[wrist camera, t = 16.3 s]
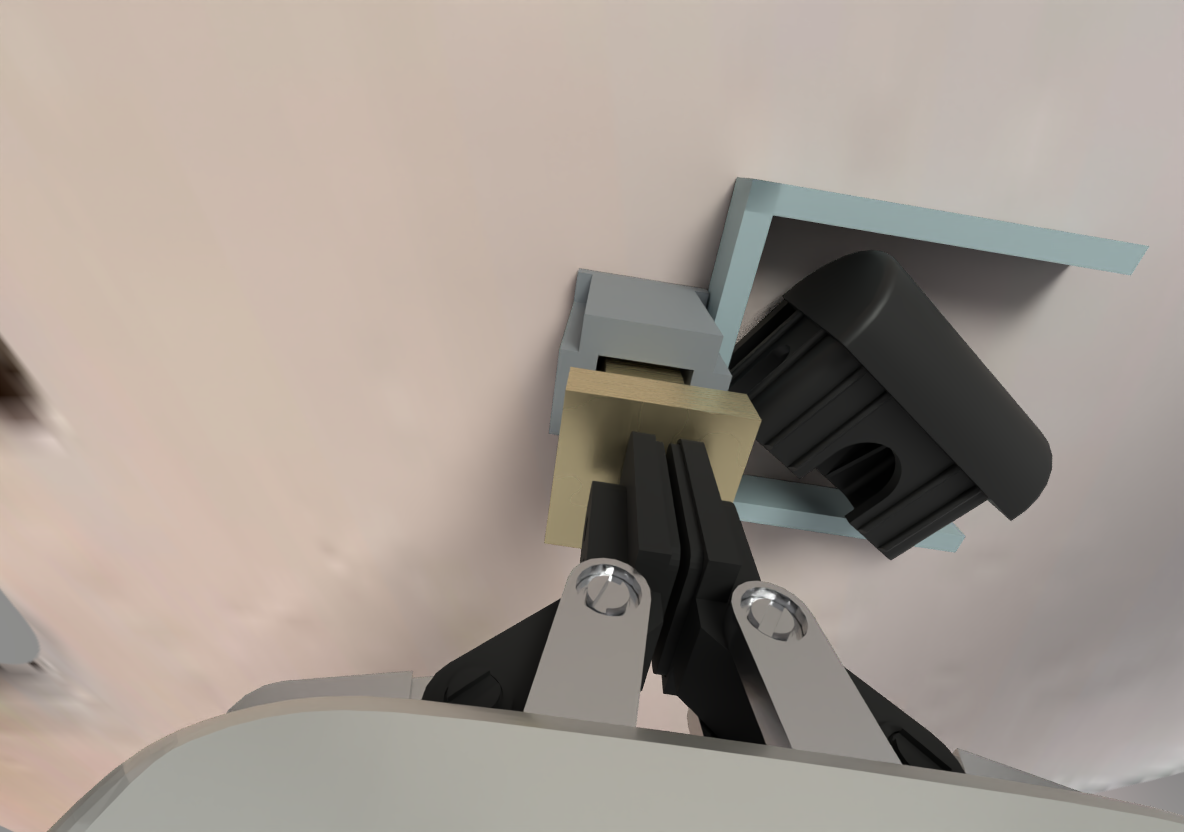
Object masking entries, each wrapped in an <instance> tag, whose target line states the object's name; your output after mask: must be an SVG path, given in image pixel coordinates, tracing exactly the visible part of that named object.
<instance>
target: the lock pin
mask: <svg viewBox="0 0 1184 832" xmlns="http://www.w3.org/2000/svg"><path fill="white" fill-rule="evenodd" d="M760 423H761V418H760V417H759V415H758V413H757V411H756V410H755V408H754V406H753V404H752V403H751V401H750V399H749V398H748V396H747V394H742V393H735V392H729V391H722V390H716V389H710V388H703V387H697V386H690V385H685V384H684V381H683V378H682V375H681V372H680V369H679V368H677V367H671V366H664V365H658V364H652V363H645V362H639V361H633V360H626V359H620V358H613V357H607V356H601V362H600V368H599V371H594V370H588V369H582V368H575V367H570V372H569V376H568V381H567V385H566V390H565V397H564V404H563V411H562V419H561V426H560V433H559V440H558V448H557V455H556V462H555V469H554V476H553V484H552V491H551V498H550V505H549V513H548V520H547V527H546V534H545V542H544V543H546V544H553V545H560V546H567V547H573V548H580V549H581V548H582V538H583V531H584V524H585V517H586V511H587V505H588V500H589V494H590V489H591V484H592V481H599V482H606V483H612V484H619V485H620V480H621V475H622V470H623V466H624V461H625V456H626V452H627V447H628V442H629V438H630V434H631V432H632V431H635V432H641V433H648V434H654V435H655V436H656V441H660V442H663V443H664V448H665V454H666V452H667V448H668V445H669V444H670V443H672V444H677V442H678V440H679V439H686V440H693V441H699V442H704V444H705V447H706V451H707V454H708V457H709V460H710V464H711V467H712V470H713V473H714V477H715V480H716V483H717V486H718V490H719V493H720V496H721V499H722V500H724V501H730V502H732V503H733V501H734V499H735V496H736V493H737V490H738V487H739V484H740V481H741V478H742V475H743V472H744V470H745V467H746V464H747V461H748V458H749V455H750V452H751V449H752V446H753V444H754V441H755V438H756V435H757V432H758V429H759V426H760Z"/></svg>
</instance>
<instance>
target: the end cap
mask: <svg viewBox="0 0 1184 832" xmlns="http://www.w3.org/2000/svg"><path fill="white" fill-rule="evenodd" d="M783 298H784V299H785V300H784V301H782V302H781V303H780V304H779V305H778V306H777V307H776V308H775V309H774V310H773V311H771V312H770V313H769V314H768V315H767V316H766V317H765V318H764V319H763V320H762V321H761V322H760V323H758V324H757V325H756V326H755V327H754V328H753V329H752V330H751V331H750V332H749V333H748V334H747V335H745V336H744V337H743V338H742V339H741V340H740V341H739V342H738V343H737V344H736V345H735V346H734V349H733V352H732V356H731V359H730V363H729V366H728V370H729V371H730V373H731V375H732V379H731V382H730V385H729V389H728V391H729V392H735V393H742V394H747V396H748V398H749V399H750V401H751V403H752V404H753V406H754V408H755V410H756V411H757V413H758V415H759V417H760V418H761V423H760V426H759V429H758V432H757V435H756V438H755V439H756V440H757V441H758V442H759V443H760V444H761V445H762V446H764V447H765V448H766V449H767V450H768V451H769V452H770V453H771V454H773V455H774V456H775V457H776V458H777V459H778V460H779V461H780V462H781V463H783V464H784V465H785V466H786V467H787V468H788V469H789V470H790V471H791V472H793V473H794V474H795V475H796V476H797V477H798V478H799V479H801V478H802V477H804V476H805V475H806V474H808V473H809V472H810V471H812V470H813V469H814V468H816V469H817V470H818V471H820V472H821V473H822V474H823V475H824V476H825V477H826V478H827V479H828V480H829V481H830V482H831V483H833V484H834V485H835V486H836V487H837V488H838V489H839V490H840V491H841V492H842V493H843V494H844V495H845V496H846V498H847V499H848V500H849V502H850V503H851V505H852V506H853V507H854V509H853V510H852V511H851V512H849V513H848V514H846V515H845V518H846V519H847V521H848V522H849V524H850V525H851V526H853V527H854V528H855V529H856V530H857V531H858V532H859V533H860V534H862V535H863V536H864V537H865V538H866V539H867V540H868V541H869V542H870V543H872V544H873V545H874V546H875V547H876V548H877V549H878V550H879V551H880V552H882V553H883V554H884V555H885V556H886V557H887V558H888V559H890V560H892V559H894V558H896V557H897V556H899V555H900V554H902V553H904V552H905V551H907V550H908V549H910V548H911V547H913V546H915V545H916V544H918V543H919V542H921V541H923V540H924V539H926V538H927V537H929V536H931V535H932V534H934V533H935V532H937V531H939V530H940V529H942V528H943V527H945V526H947V525H948V524H950V523H951V522H953V521H955V520H956V519H958V518H959V517H961V516H962V515H964V514H966V513H967V512H969V511H970V510H972V509H974V508H975V507H977V506H978V505H980V504H982V503H983V502H985V501H986V500H988V501H989V502H990V503H991V504H993V505H994V506H995V507H996V508H997V509H998V510H999V511H1000V512H1001V513H1003V514H1004V515H1005V516H1006V517H1007V518H1008V519H1009V520H1011V521H1012V520H1013V519H1015V518H1016V517H1017V516H1019V515H1020V514H1022V513H1023V512H1024V511H1026V510H1027V509H1028V508H1029V507H1030V506H1031V505H1032V504H1033V503H1034V502H1035V501H1036V500H1037V499H1038V497H1039V496H1040V494H1041V493H1042V491H1043V489H1044V488H1045V486H1046V485H1047V482H1048V479H1049V476H1050V473H1051V470H1052V453H1051V450H1050V446H1049V443H1048V441H1047V440H1046V438H1045V437H1044V435H1043V434H1042V432H1041V431H1040V430H1039V429H1038V427H1037V426H1036V425H1035V424H1034V423H1033V421H1032V420H1031V419H1030V418H1029V417H1028V416H1027V414H1026V413H1025V412H1024V411H1023V410H1022V408H1021V407H1020V406H1019V405H1018V404H1017V403H1016V401H1015V400H1014V399H1013V398H1012V397H1011V395H1010V394H1009V393H1008V392H1007V391H1006V390H1005V388H1004V387H1003V386H1002V385H1001V384H1000V382H999V381H998V380H997V379H996V378H995V377H994V375H993V374H992V373H991V372H990V371H989V369H988V368H987V367H986V366H985V365H984V364H983V362H982V361H981V360H980V359H979V358H978V356H977V355H976V354H975V353H974V352H973V351H972V349H971V348H970V347H969V346H968V345H967V343H966V342H965V341H964V340H963V339H962V338H961V336H960V335H959V334H958V333H957V332H956V330H955V329H954V328H953V327H952V326H951V325H950V323H949V322H948V321H947V320H946V319H945V317H944V316H943V315H942V314H941V313H940V312H939V310H938V309H937V308H936V307H935V306H934V304H933V303H932V302H931V301H930V300H929V299H928V297H927V296H926V295H925V294H924V293H923V291H922V290H921V289H920V288H919V287H918V286H917V284H916V283H915V282H914V281H913V280H912V278H911V277H910V276H909V275H908V274H907V273H906V271H905V270H904V269H903V268H902V267H901V265H900V264H899V263H898V262H897V261H896V260H895V258H893V257H892V256H890V255H889V254H887V253H885V252H882V251H875V250H869V251H861V252H856V253H853V254H849V255H846V256H844V257H841V258H839V259H837V260H834V261H832V262H830V263H828V264H827V265H825V266H823V267H821V268H819V269H818V270H816V271H815V272H813V273H812V274H810V275H808V276H807V277H806V278H804V279H803V280H802V281H800V282H799V283H798V284H796V285H795V286H794V287H793V288H791V289H790V290H789V291H788V292H787V293H786V294H784V295H783Z"/></svg>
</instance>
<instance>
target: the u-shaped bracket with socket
mask: <svg viewBox="0 0 1184 832" xmlns="http://www.w3.org/2000/svg"><path fill="white" fill-rule="evenodd" d="M773 215H775V216H781V217H786V218H792V219H798V220H804V221H810V222H816V223H822V224H828V225H834V226H840V227H846V228H852V229H858V230H864V231H870V232H876V233H882V234H888V235H894V236H900V237H906V238H911V239H917V240H923V241H929V242H935V243H941V244H947V245H953V246H959V247H965V248H971V249H977V250H983V251H989V252H995V253H1001V254H1007V255H1013V256H1019V257H1025V258H1031V259H1037V260H1042V261H1048V262H1054V263H1060V264H1066V265H1072V266H1078V267H1084V268H1090V269H1096V270H1102V271H1108V272H1114V273H1120V274H1126V275H1131V274H1132V273H1133V271H1134V270H1135V268H1136V266H1137V265H1138V263H1139V262H1140V260H1141V259H1142V257H1143V255H1144V254H1145V252H1146V251H1147V249H1148V248H1149V246H1145V245H1139V244H1134V243H1128V242H1122V241H1116V240H1110V239H1104V238H1098V237H1092V236H1087V235H1081V234H1075V233H1069V232H1063V231H1057V230H1051V229H1045V228H1039V227H1034V226H1028V225H1022V224H1016V223H1010V222H1004V221H998V220H992V219H987V218H981V217H975V216H969V215H963V214H957V213H951V212H945V211H940V210H934V209H928V208H922V207H916V206H910V205H904V204H898V203H892V202H887V201H881V200H875V199H869V198H863V197H857V196H851V195H845V194H840V193H834V192H828V191H822V190H816V189H810V188H804V187H798V186H793V185H787V184H781V183H775V182H769V181H763V180H757V179H750V178H739V177H737V179H736V183H735V187H734V191H733V195H732V199H731V203H730V207H729V210H728V214H727V218H726V222H725V226H724V230H723V234H722V238H721V242H720V246H719V250H718V253H717V257H716V261H715V265H714V269H713V273H712V277H711V281H710V285H709V289H708V291H707V290H706V289H703V288H697V287H690V286H684V285H678V284H672V283H666V282H660V281H654V280H647V279H641V278H635V277H629V276H623V275H617V274H610V273H604V272H598V271H592V270H586V269H580V268H579V270H578V275H577V282H576V289H575V297H574V303H573V306H572V309H571V313H570V316H569V319H568V322H567V326H566V329H565V332H564V336H563V339H562V342H561V346H560V349H559V357H558V365H557V372H556V380H555V388H554V396H553V404H552V412H551V420H550V427H549V434H554V435H559V433H560V426H561V419H562V411H563V404H564V397H565V390H566V385H567V381H568V376H569V372H570V367H575V368H582V369H588V370H594V371H599V368H600V362H601V356H607V357H613V358H620V359H626V360H633V361H639V362H645V363H652V364H658V365H664V366H671V367H677V368H679V369H680V372H681V375H682V378H683V381H684V384H685V385H690V386H697V387H703V388H710V389H716V390H722V391H728V389H729V385H730V382H731V379H732V375H731V373H730V371H729V370H728V366H729V363H730V359H731V356H732V352H733V349H734V346H735V342H736V339H737V335H738V332H739V329H740V325H741V322H742V319H743V315H744V312H745V308H746V305H747V302H748V298H749V295H750V291H751V288H752V285H753V281H754V278H755V274H756V271H757V268H758V264H759V261H760V258H761V254H762V251H763V247H764V244H765V241H766V237H767V234H768V230H769V227H770V224H771V220H772V217H773ZM733 503H734V505H735V507H736V509H737V512H738V515H739V518H740V521H746V522H753V523H759V524H766V525H773V526H780V527H786V528H793V529H800V530H807V531H813V532H820V533H827V534H834V535H840V536H847V537H854V538H861V539H866V538H865V537H864V536H863V535H862V534H860V533H859V532H858V531H857V530H856V529H855V528H854V527H853V526H851V525H850V524H849V522H848V521H847V519H846V518H845V515H846V514H848V513H849V512H851V511H852V510H853V509H854V507H853V506H852V505H851V503H850V502H849V500H848V499H847V498H846V496H845V495H844V494H843V493H842V492H841V491H840V490H839V489H835V488H829V487H822V486H816V485H809V484H802V483H796V482H789V481H782V480H776V479H769V478H763V477H756V476H749V475H742V478H741V481H740V484H739V487H738V490H737V493H736V496H735V499H734V501H733ZM964 538H965V535H964V534H963V533H962V532H961V531H960V530H959V529H958V528H957V527H956V525H955V524H954V523H953V522H951V523H950V524H948V525H947V526H945V527H943V528H942V529H940V530H939V531H937V532H935V533H934V534H932V535H931V536H929V537H927V538H926V539H924V540H923V541H921V542H919V543H918V544H916V545H915V547H921V548H928V549H935V550H942V551H948V552H956V551H957V549H958V548H959V546H960V544H961V543H962V541H963V540H964Z"/></svg>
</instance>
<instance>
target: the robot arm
mask: <svg viewBox="0 0 1184 832" xmlns="http://www.w3.org/2000/svg"><path fill="white" fill-rule="evenodd" d="M651 660H652V669H653V673H654V674H659V675H662V685H663V694H669V695H676V696H678V697H679V698H680V699H681V700H682V701H683V702H684V703H685V704H686V705H687V706H688V707H689V708H688V712H687V721H688V728H689V732H690V734H683V733H676V732H668V731H661V730H653V729H646V728H639V727H636V722H637V714H638V705H639V697H640V692H641V691H642V689H643V686H644V683H645V679H646V676H647V673H648V670H649V667H650V663H651ZM47 832H1184V816H1182V815H1178V814H1175V813H1171V812H1168V811H1164V810H1160V809H1157V808H1153V807H1150V806H1145V805H1141V804H1136V803H1131V802H1126V801H1122V800H1117V799H1112V798H1108V797H1103V796H1098V795H1094V794H1088V793H1082V792H1080V791H1077V790H1074V789H1071V788H1068V787H1066V786H1063V785H1060V784H1057V783H1054V782H1052V781H1049V780H1046V779H1043V778H1040V777H1037V776H1035V775H1032V774H1029V773H1026V772H1023V771H1021V770H1018V769H1015V768H1012V767H1009V766H1006V765H1004V764H1001V763H998V762H995V761H992V760H990V759H987V758H984V757H981V756H978V755H975V754H973V753H970V752H967V751H964V750H961V749H959V748H957V749H956V750H955V751H954V752H953V753H951V752H950V750H949V749H948V748H947V747H946V746H945V745H944V744H943V743H942V742H941V741H940V740H939V739H938V738H936V737H935V736H934V735H933V734H932V733H931V732H930V731H928V730H927V729H926V728H924V727H923V726H922V725H920V724H919V723H918V722H916V721H915V720H914V719H912V718H911V717H910V716H908V715H907V714H906V713H904V712H903V711H902V710H900V709H899V708H898V707H897V706H895V705H894V704H893V703H891V702H890V701H889V700H887V699H886V698H885V697H883V696H882V695H881V694H879V693H878V692H877V691H875V690H874V689H873V688H871V687H870V686H869V685H867V684H866V683H865V682H863V681H862V680H861V679H860V678H858V677H857V676H856V675H854V674H853V673H852V672H850V671H849V670H848V669H846V668H845V667H844V666H843V664H842V663H841V661H840V659H839V658H838V656H837V654H836V653H835V651H834V649H833V648H832V646H831V644H830V643H829V641H828V639H827V638H826V636H825V634H824V633H823V631H822V629H821V628H820V626H819V624H818V622H817V621H816V619H815V617H814V616H813V614H812V613H811V611H810V610H809V609H808V608H807V606H806V605H805V604H804V603H803V602H802V601H801V600H800V599H799V598H797V597H796V596H795V595H794V594H792V593H791V592H789V591H787V590H786V589H784V588H782V587H780V586H777V585H774V584H772V583H769V582H762V581H761V580H760V577H759V574H758V571H757V568H756V565H755V562H754V559H753V556H752V553H751V550H750V547H749V544H748V541H747V539H746V536H745V533H744V530H743V527H742V524H741V521H740V518H739V515H738V512H737V509H736V507H735V505H734V503H732V502H730V501H724V500H722V499H721V496H720V493H719V490H718V486H717V483H716V480H715V477H714V473H713V470H712V467H711V464H710V460H709V457H708V454H707V451H706V447H705V444H704V442H699V441H693V440H686V439H679V440H678V442H677V444H672V443H670V444H669V445H668V448H667V452H666V454H665V448H664V443H663V442H660V441H656V436H655V435H654V434H648V433H641V432H635V431H632V432H631V434H630V438H629V442H628V447H627V452H626V456H625V461H624V466H623V470H622V475H621V480H620V485H619V484H612V483H606V482H599V481H592V484H591V489H590V494H589V500H588V505H587V511H586V517H585V524H584V531H583V538H582V548H581V558H580V564H579V565H577V566H576V567H575V568H574V569H573V570H572V571H571V573H570V575H569V577H568V579H567V582H566V585H565V588H564V591H563V594H562V597H561V598H560V599H559V600H557V601H555V602H554V603H552V604H550V605H548V606H547V607H545V608H543V609H542V610H540V611H538V612H536V613H535V614H533V615H531V616H530V617H528V618H526V619H524V620H523V621H521V622H519V623H517V624H516V625H514V626H512V627H511V628H509V629H507V630H505V631H504V632H502V633H500V634H499V635H497V636H495V637H493V638H492V639H490V640H488V641H486V642H485V643H483V644H481V645H480V646H478V647H476V648H474V649H473V650H471V651H469V652H468V653H466V654H464V655H462V656H461V657H459V658H457V659H455V660H454V661H452V662H450V663H449V664H447V665H446V666H445V667H443V668H442V669H441V670H440V671H438V672H437V673H436V674H435V675H434V676H430V677H418V678H413V671H404V672H391V673H379V674H366V675H353V676H340V677H327V678H314V679H302V680H289V681H281V682H277V683H273V684H268V685H264V686H262V687H261V688H259V689H257V690H255V691H253V692H251V693H249V694H247V695H245V696H244V697H243V698H242V699H241V700H240V701H238V702H237V703H236V704H235V705H234V706H233V707H232V708H230V709H229V710H228V712H227V713H226V714H223V715H220V716H217V717H214V718H211V719H207V720H204V721H201V722H199V723H196V724H194V725H191V726H188V727H186V728H183V729H181V730H178V731H176V732H174V733H172V734H170V735H168V736H166V737H164V738H162V739H160V740H158V741H156V742H154V743H152V744H150V745H149V746H147V747H145V748H144V749H142V750H141V751H139V752H138V753H136V754H135V755H133V756H132V757H131V758H129V759H128V760H126V761H125V762H124V763H122V764H121V765H119V766H118V767H117V768H115V769H114V770H113V771H112V772H110V773H109V774H108V775H107V776H105V777H104V778H103V779H102V780H101V781H100V782H99V783H98V784H96V785H95V786H94V787H93V788H92V789H91V790H90V791H89V792H87V793H86V794H85V795H84V796H83V797H82V798H81V799H80V800H78V801H77V802H76V803H75V804H74V805H73V806H72V807H71V808H70V809H69V810H68V811H67V812H66V813H65V814H64V815H63V816H62V817H61V818H60V819H59V820H58V821H57V822H56V823H55V824H54V825H53V826H52V827H51V828H50V829H49V830H48V831H47Z"/></svg>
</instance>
